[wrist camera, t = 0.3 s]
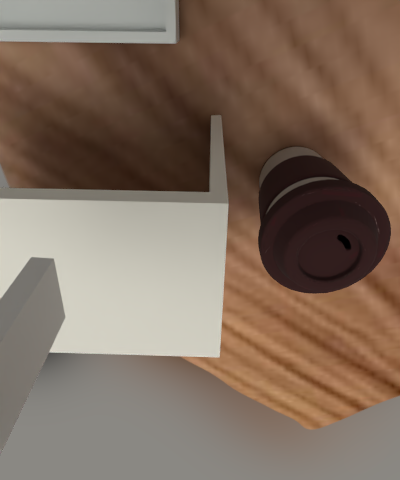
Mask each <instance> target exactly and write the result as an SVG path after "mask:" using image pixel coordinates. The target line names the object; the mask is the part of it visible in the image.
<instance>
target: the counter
mask: <svg viewBox="0 0 400 480" xmlns="http://www.w3.org/2000/svg"><path fill="white" fill-rule="evenodd" d="M228 205H229V202H228V191H227V179H226V167H225V155H224V143H223V131H222V119H221V115H211V139H210V178H209V192H178V191H131V190H84V189H38V188H0V299H1V298H2V296H3V295H4V294H5V292H6V291H7V290H8V288H9V287H10V285H11V284H12V283H13V281H14V280H15V279H16V277H17V276H18V274H19V273H20V272H21V270H22V269H23V268H24V266H25V265H26V263H27V262H28V261H29V259H30V258H31V257H39V258H54V262H55V267H56V272H57V277H58V282H59V287H60V292H61V297H62V302H63V307H64V312H65V320H64V322H63V324H62V326H61V328H60V330H59V332H58V334H57V336H56V339H55V341H54V343H53V345H52V347H51V349H50V351H49V352H59V353H61V352H62V353H92V354H125V355H127V354H128V355H159V356H192V357H220V341H221V324H222V307H223V290H224V273H225V256H226V239H227V222H228Z"/></svg>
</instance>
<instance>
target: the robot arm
mask: <svg viewBox="0 0 400 480" xmlns="http://www.w3.org/2000/svg"><path fill="white" fill-rule="evenodd" d="M64 320H65V312H64V307H63V302H62V297H61V292H60V287H59V282H58V277H57V272H56V267H55V262H54V258H39V257H31V258H30V259H29V261H28V262H27V263H26V265H25V266H24V268H23V269H22V270H21V272H20V273H19V274H18V276H17V277H16V279H15V280H14V281H13V283H12V284H11V285H10V287H9V288H8V290H7V291H6V292H5V294H4V295H3V296H2V298H1V299H0V454H1V452H2V450H3V448H4V446H5V444H6V442H7V440H8V437H9V435H10V433H11V431H12V429H13V427H14V425H15V423H16V420H17V419H18V416H19V414H20V412H21V410H22V408H23V405H24V404H25V402H26V400H27V397H28V395H29V393H30V391H31V389H32V387H33V385H34V383H35V380H36V378H37V376H38V374H39V372H40V370H41V368H42V366H43V364H44V362H45V360H46V357H47V355H48V353H49V351H50V349H51V347H52V345H53V343H54V341H55V339H56V336H57V334H58V332H59V330H60V328H61V326H62V324H63V322H64Z"/></svg>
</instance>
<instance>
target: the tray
mask: <svg viewBox="0 0 400 480" xmlns="http://www.w3.org/2000/svg"><path fill="white" fill-rule="evenodd" d="M0 41H18V42H91V43H165V44H176V43H177V42H178V41H179V0H0Z"/></svg>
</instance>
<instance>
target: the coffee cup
mask: <svg viewBox="0 0 400 480" xmlns="http://www.w3.org/2000/svg"><path fill="white" fill-rule="evenodd" d="M259 187H260V191H259V209H260V220H261V226H260V230H259V237H258V244H259V251H260V255H261V260H262V263H263V265H264V267H265V269H266V270H267V272H268V273H269V274H270V276H271V277H272V278H273V279H274V280H276V281H277V282H278V283H280V284H281V285H283V286H285V287H287V288H289V289H291V290H295V291H299V292H303V293H328V292H332V291H336V290H340V289H343V288H345V287H348V286H350V285H352V284H354V283H356V282H358V281H359V280H361V279H362V278H364V277H365V276H366V275H368V274H369V273H370V272H371V271H372V270H373V269H374V268H375V267H376V266H377V265H378V263H379V262H380V261H381V259H382V258H383V256H384V255H385V252H386V250H387V248H388V245H389V241H390V236H391V227H390V221H389V218H388V215H387V213H386V211H385V209H384V208H383V206H382V205H381V204H380V203H379V202H378V200H377V199H376V198H375V197H374V196H373V195H372V194H371V193H370V192H369V191H367V190H366V189H365V188H363V187H361V186H359V185H357V184H354V183H352V182H351V181H350V180H349V179H348V178H347V177H346V176H345V175H344V174H342V173H341V172H340V171H339V170H338V169H337V168H336V167H335V166H334V165H333V164H332V163H330V162H329V161H327V160H325V159H323V158H322V157H321V156H320V155H319V154H318V153H316V152H315V151H313V150H311V149H308V148H304V147H290V148H286V149H283V150H281V151H279V152H277V153H276V154H274V155H273V156H272V157H271V158H270V159H269V160H268V161H267V162H266V163H265V165H264V167H263V169H262V171H261V174H260V178H259Z"/></svg>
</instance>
